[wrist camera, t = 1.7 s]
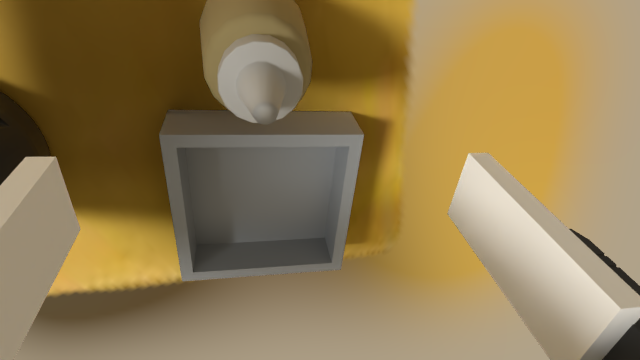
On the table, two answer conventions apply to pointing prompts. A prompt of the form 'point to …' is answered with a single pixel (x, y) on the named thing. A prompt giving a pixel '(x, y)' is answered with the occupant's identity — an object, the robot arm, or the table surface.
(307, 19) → the table surface
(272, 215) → the bin
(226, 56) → the squeeze bottle
